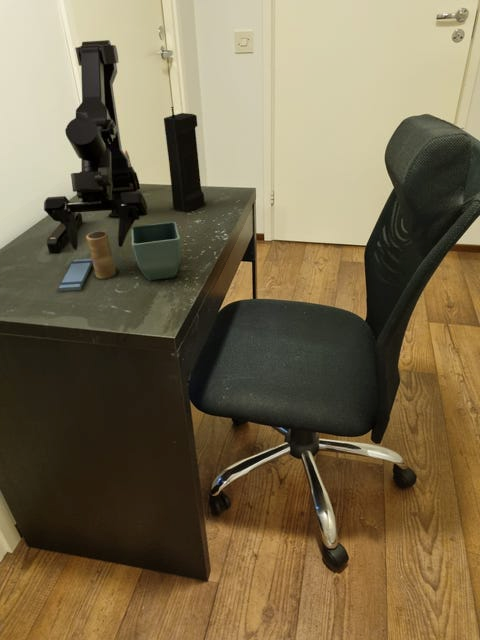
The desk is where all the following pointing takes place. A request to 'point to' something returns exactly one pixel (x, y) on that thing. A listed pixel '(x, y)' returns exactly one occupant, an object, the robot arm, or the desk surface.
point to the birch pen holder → (101, 254)
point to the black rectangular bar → (61, 236)
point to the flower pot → (157, 249)
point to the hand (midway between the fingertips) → (97, 247)
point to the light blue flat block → (76, 275)
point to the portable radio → (183, 161)
